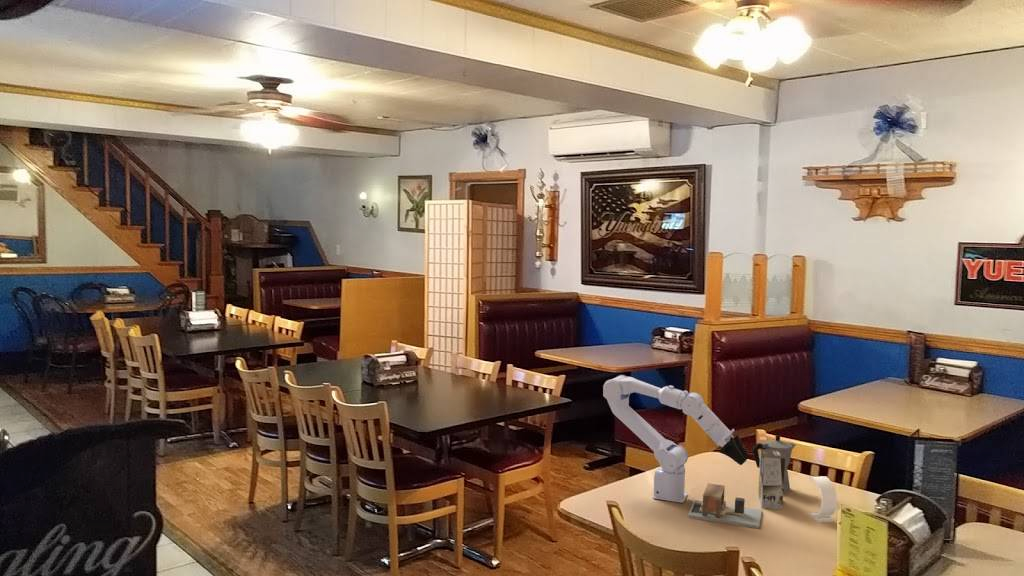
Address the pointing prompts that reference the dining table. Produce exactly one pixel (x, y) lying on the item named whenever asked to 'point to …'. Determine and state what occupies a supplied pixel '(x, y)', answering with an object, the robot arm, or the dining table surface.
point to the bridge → (713, 497)
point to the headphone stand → (825, 500)
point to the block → (711, 504)
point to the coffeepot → (776, 445)
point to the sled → (737, 511)
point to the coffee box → (771, 478)
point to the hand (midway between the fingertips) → (745, 461)
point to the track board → (728, 516)
